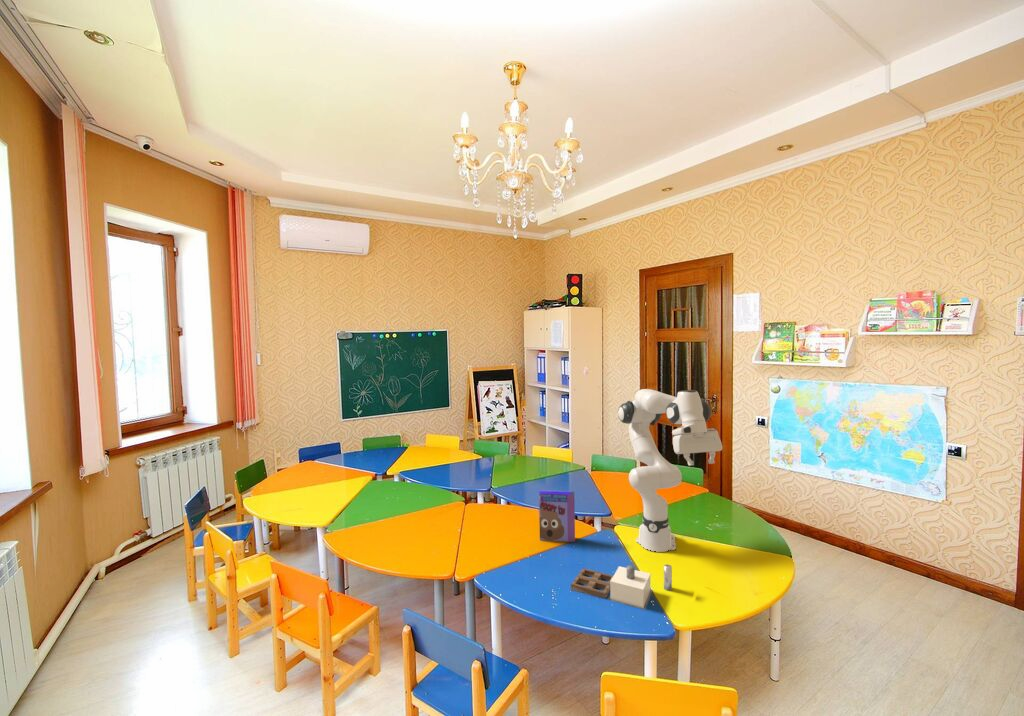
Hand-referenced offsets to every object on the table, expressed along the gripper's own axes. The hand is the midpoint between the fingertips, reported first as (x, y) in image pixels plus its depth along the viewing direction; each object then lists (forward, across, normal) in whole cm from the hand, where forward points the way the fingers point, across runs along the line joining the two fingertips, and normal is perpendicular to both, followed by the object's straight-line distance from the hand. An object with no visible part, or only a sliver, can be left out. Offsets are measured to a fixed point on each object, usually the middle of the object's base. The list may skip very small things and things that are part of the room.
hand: (701, 464), depth 173 cm
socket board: (+44, +39, -30) cm, 66 cm away
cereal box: (+31, +38, -72) cm, 87 cm away
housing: (+46, +28, -19) cm, 58 cm away
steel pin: (+47, +12, -19) cm, 52 cm away
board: (+48, +28, -20) cm, 59 cm away
